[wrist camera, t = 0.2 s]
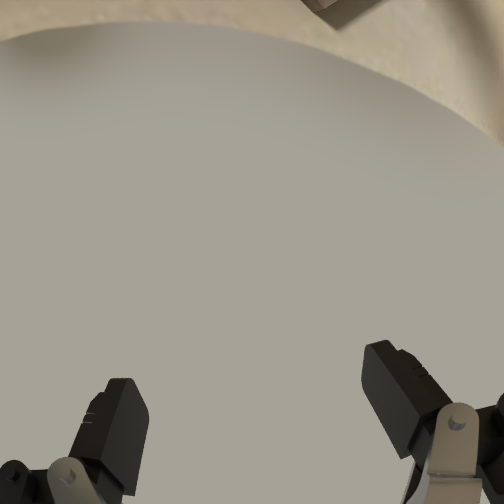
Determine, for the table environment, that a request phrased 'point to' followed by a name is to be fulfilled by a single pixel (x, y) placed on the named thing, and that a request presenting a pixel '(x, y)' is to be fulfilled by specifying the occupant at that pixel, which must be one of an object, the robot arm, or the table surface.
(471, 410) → the robot arm
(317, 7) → the walnut base
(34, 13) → the table surface
